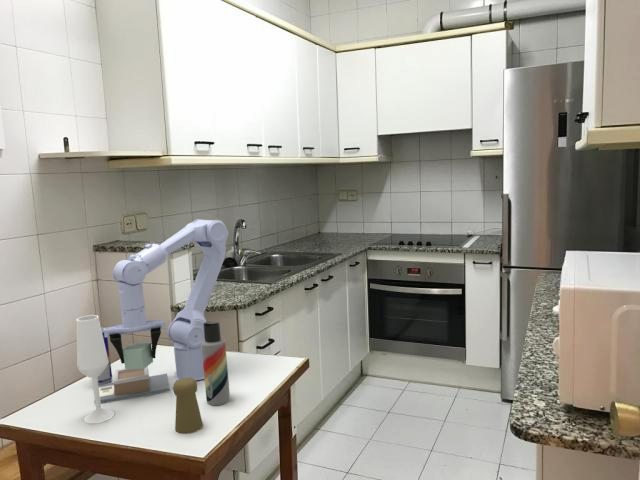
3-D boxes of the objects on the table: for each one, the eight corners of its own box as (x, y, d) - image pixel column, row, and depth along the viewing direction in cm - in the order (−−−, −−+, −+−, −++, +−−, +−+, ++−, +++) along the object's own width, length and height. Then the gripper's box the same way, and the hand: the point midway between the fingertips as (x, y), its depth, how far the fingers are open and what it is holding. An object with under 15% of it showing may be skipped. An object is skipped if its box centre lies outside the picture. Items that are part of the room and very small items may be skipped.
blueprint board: (167, 376, 150) (165, 360, 149) (169, 391, 140) (167, 374, 139) (97, 388, 144) (95, 371, 144) (94, 404, 134) (92, 386, 133)
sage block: (153, 361, 139) (151, 343, 138) (143, 369, 134) (141, 350, 133) (135, 361, 140) (133, 343, 139) (125, 369, 135) (122, 349, 134)
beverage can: (105, 386, 145) (99, 332, 143) (88, 386, 146) (82, 332, 144) (116, 379, 150) (110, 327, 148) (99, 378, 151) (93, 327, 149)
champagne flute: (100, 408, 132) (88, 313, 128) (120, 412, 129) (109, 315, 125) (77, 420, 126) (64, 321, 122) (98, 425, 123) (85, 323, 119)
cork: (177, 422, 122) (172, 375, 121) (204, 419, 123) (200, 373, 121) (172, 435, 116) (167, 386, 115) (201, 432, 117) (196, 384, 115)
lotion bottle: (202, 404, 131) (194, 324, 128) (214, 394, 136) (207, 317, 133) (222, 406, 129) (215, 325, 126) (234, 396, 134) (227, 318, 131)
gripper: (161, 300, 141) (167, 350, 143) (102, 308, 137) (108, 359, 139) (163, 306, 135) (168, 358, 137) (101, 314, 130) (107, 368, 132)
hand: (138, 359), depth 137 cm, fingers closed on sage block, 7 cm apart
